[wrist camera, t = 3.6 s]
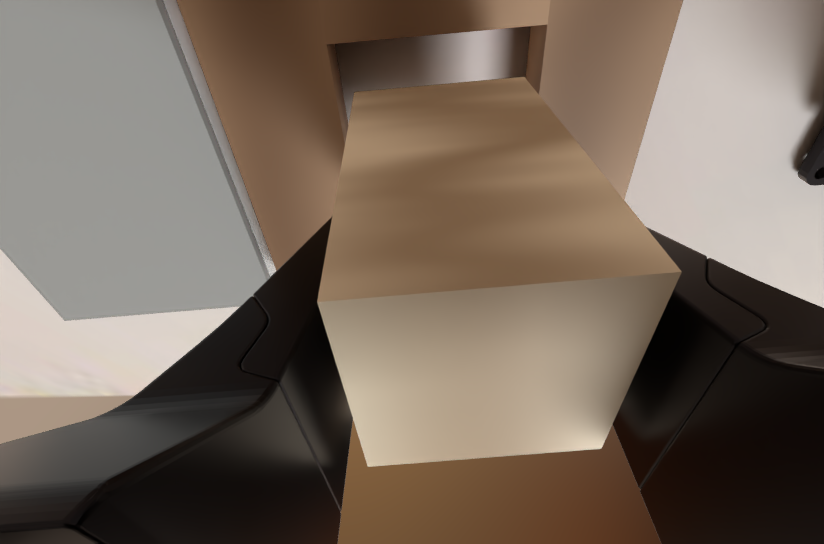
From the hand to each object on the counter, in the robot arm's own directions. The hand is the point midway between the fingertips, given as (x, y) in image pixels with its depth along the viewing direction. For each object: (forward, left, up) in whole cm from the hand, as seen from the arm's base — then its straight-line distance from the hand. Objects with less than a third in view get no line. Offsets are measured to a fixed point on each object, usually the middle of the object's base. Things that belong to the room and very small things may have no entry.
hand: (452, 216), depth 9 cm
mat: (+11, 0, -6) cm, 13 cm away
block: (0, 0, -3) cm, 3 cm away
